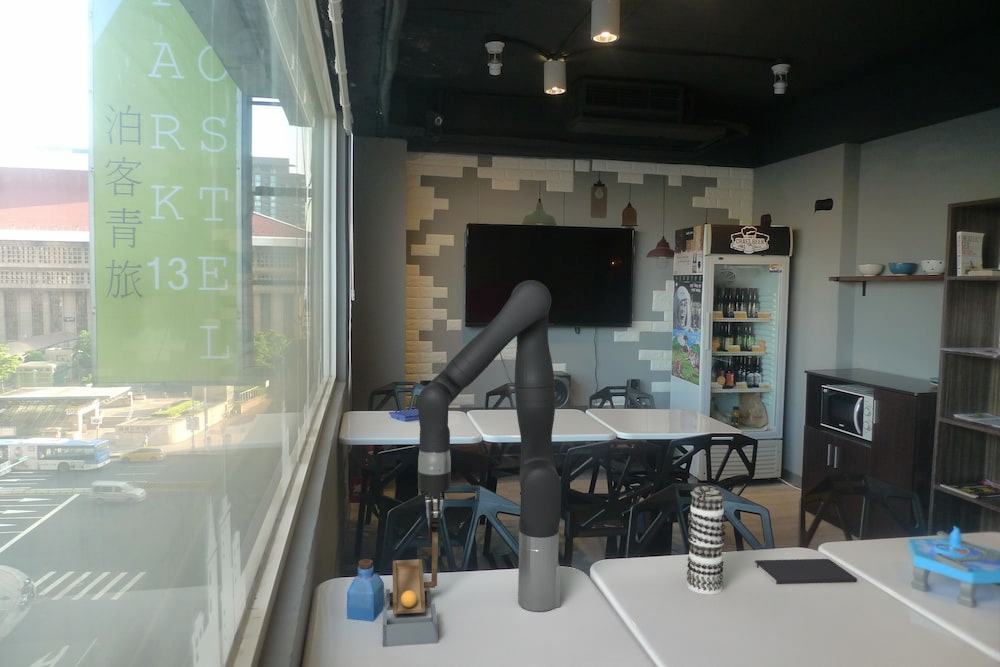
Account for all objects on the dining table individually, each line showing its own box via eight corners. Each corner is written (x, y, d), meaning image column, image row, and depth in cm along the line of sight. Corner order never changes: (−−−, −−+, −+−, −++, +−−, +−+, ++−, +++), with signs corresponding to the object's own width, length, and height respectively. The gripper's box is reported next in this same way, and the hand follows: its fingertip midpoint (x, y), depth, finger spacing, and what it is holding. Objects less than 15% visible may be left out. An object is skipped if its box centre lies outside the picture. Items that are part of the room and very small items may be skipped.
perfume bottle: (373, 621, 150) (373, 568, 149) (347, 618, 152) (346, 565, 151) (383, 609, 156) (383, 557, 156) (358, 606, 158) (358, 555, 157)
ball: (416, 589, 154) (417, 590, 150) (416, 606, 153) (417, 608, 149) (400, 590, 153) (400, 591, 150) (400, 607, 152) (400, 609, 149)
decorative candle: (731, 593, 167) (735, 492, 165) (697, 597, 164) (700, 494, 163) (711, 578, 176) (714, 482, 174) (678, 581, 173) (681, 484, 172)
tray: (434, 620, 151) (434, 602, 151) (437, 642, 142) (437, 624, 141) (383, 623, 149) (383, 606, 149) (382, 646, 140) (382, 627, 140)
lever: (434, 568, 168) (435, 515, 165) (439, 611, 152) (440, 553, 149) (392, 571, 166) (393, 517, 163) (392, 614, 150) (393, 555, 147)
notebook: (776, 586, 172) (856, 584, 174) (776, 580, 172) (856, 578, 174) (753, 565, 185) (828, 564, 187) (753, 560, 185) (828, 558, 187)
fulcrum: (429, 597, 162) (429, 584, 162) (430, 607, 157) (430, 593, 157) (386, 600, 161) (386, 586, 160) (386, 610, 156) (386, 596, 156)
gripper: (453, 476, 153) (452, 552, 154) (448, 461, 166) (447, 531, 167) (419, 477, 152) (418, 553, 153) (417, 462, 165) (416, 532, 166)
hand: (433, 541), depth 160 cm, fingers closed
